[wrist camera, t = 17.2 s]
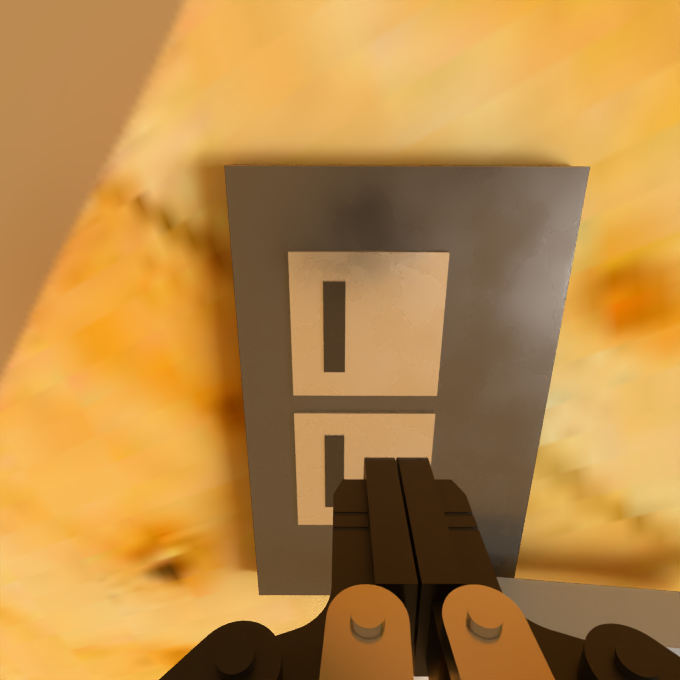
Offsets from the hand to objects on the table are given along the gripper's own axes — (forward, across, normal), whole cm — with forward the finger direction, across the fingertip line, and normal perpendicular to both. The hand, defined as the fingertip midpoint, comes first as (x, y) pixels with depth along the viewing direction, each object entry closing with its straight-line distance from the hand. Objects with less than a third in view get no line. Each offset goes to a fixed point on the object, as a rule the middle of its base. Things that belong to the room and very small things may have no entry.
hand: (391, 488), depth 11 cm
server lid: (+13, -2, +5) cm, 14 cm away
